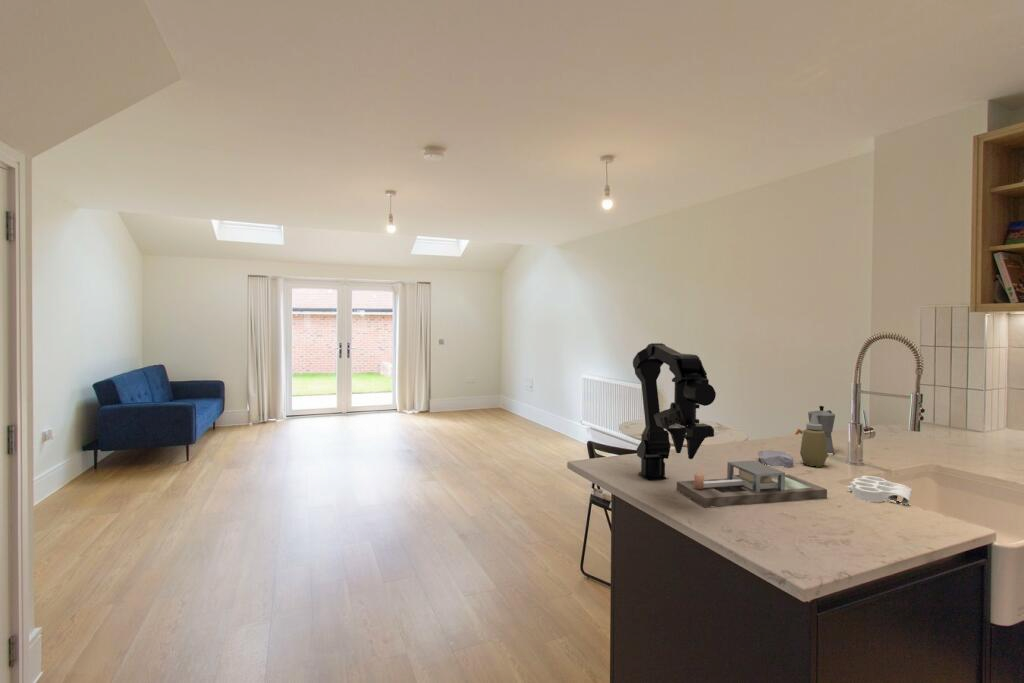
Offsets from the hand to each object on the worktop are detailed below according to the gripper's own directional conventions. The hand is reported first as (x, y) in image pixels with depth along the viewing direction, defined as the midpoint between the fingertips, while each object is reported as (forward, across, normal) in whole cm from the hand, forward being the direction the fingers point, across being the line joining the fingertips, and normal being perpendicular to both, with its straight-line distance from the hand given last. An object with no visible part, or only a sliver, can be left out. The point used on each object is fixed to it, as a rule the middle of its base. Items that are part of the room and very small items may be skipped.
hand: (684, 455), depth 134 cm
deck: (+12, 0, +21) cm, 24 cm away
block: (+10, 0, +22) cm, 24 cm away
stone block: (+12, -28, +52) cm, 60 cm away
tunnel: (+9, 0, +22) cm, 24 cm away
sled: (+9, 0, +15) cm, 18 cm away
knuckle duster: (+13, +7, +57) cm, 59 cm away
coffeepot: (+12, -37, +81) cm, 90 cm away
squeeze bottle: (+12, -22, +63) cm, 68 cm away
